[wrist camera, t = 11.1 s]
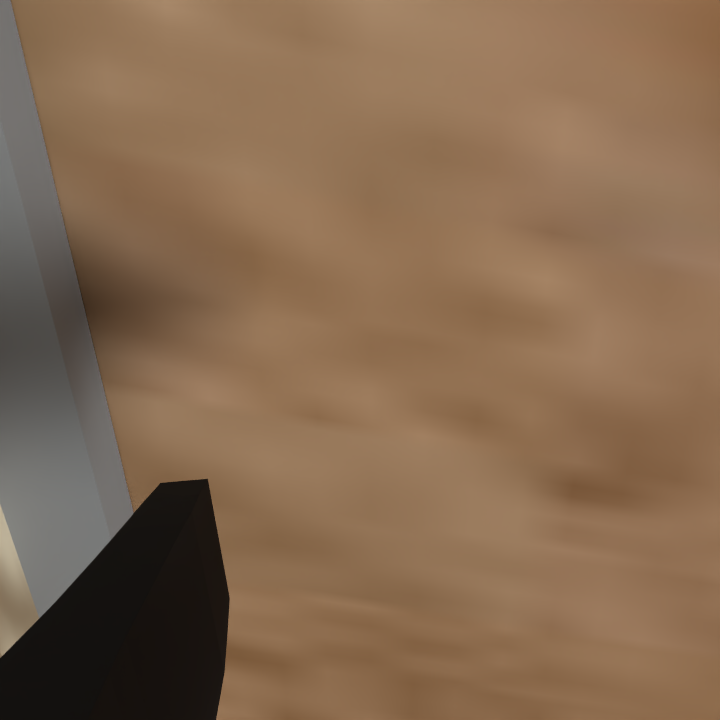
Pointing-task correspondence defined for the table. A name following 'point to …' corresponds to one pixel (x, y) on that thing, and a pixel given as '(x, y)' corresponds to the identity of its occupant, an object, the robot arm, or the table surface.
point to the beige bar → (13, 593)
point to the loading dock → (47, 364)
